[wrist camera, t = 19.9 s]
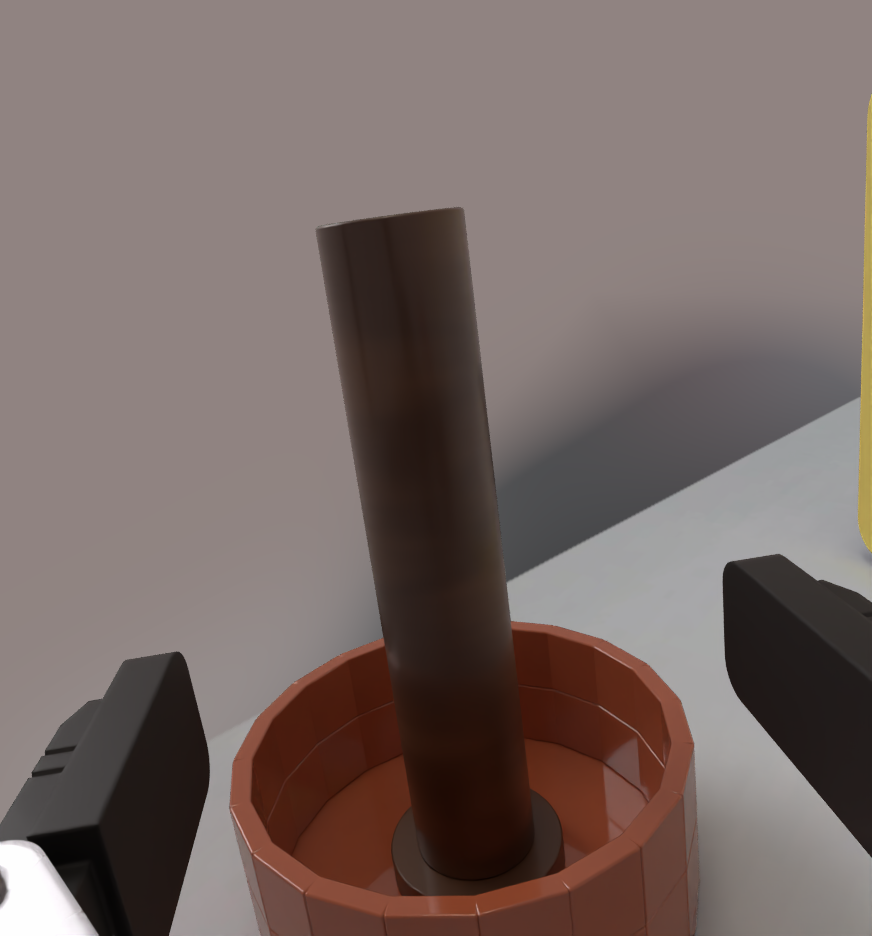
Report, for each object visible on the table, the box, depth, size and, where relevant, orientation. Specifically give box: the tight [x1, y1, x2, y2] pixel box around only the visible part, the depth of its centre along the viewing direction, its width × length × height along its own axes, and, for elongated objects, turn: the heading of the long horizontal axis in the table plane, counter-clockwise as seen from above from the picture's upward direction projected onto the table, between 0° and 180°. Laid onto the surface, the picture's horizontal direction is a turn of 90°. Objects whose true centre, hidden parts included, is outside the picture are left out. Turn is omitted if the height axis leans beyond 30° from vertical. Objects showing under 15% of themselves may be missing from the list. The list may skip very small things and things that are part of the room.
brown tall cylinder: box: [316, 207, 565, 896], centre depth 18 cm, size 4×4×16 cm
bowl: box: [229, 621, 700, 936], centre depth 20 cm, size 11×11×4 cm
